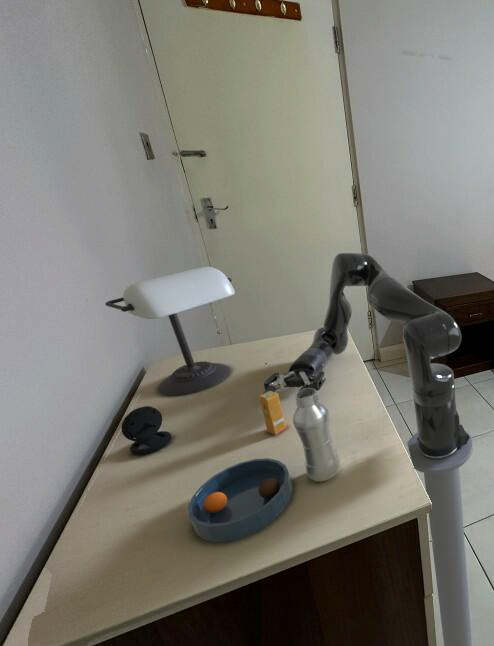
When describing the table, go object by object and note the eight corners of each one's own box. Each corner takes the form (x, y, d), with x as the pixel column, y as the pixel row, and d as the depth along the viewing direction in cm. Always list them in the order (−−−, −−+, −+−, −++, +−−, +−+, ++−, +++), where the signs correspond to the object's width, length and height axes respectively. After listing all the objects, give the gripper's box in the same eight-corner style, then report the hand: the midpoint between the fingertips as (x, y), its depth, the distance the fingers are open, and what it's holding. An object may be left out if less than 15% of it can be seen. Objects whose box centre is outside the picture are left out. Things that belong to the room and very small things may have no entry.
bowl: (295, 464, 86) (291, 450, 84) (288, 524, 72) (283, 508, 70) (208, 486, 81) (202, 471, 79) (182, 555, 67) (174, 539, 65)
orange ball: (231, 499, 77) (226, 485, 75) (227, 514, 74) (221, 499, 72) (209, 505, 76) (203, 491, 74) (204, 520, 72) (198, 505, 71)
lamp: (177, 416, 103) (127, 293, 90) (128, 394, 113) (76, 280, 99) (269, 369, 125) (240, 264, 111) (221, 354, 135) (189, 256, 121)
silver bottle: (348, 465, 85) (331, 386, 77) (327, 489, 79) (306, 406, 72) (323, 459, 87) (304, 381, 79) (301, 482, 81) (278, 400, 73)
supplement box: (288, 427, 98) (279, 393, 94) (275, 435, 95) (265, 400, 91) (279, 423, 99) (270, 389, 95) (266, 431, 96) (256, 396, 93)
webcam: (157, 432, 97) (142, 397, 93) (180, 436, 95) (166, 401, 91) (122, 453, 90) (104, 417, 86) (146, 459, 88) (129, 422, 84)
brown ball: (282, 486, 80) (278, 472, 78) (280, 499, 77) (276, 485, 75) (262, 491, 78) (258, 477, 77) (259, 505, 75) (254, 490, 74)
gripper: (281, 354, 113) (250, 385, 98) (331, 353, 113) (307, 383, 98) (287, 377, 116) (257, 410, 101) (336, 375, 116) (313, 408, 101)
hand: (282, 397), depth 100 cm, fingers open, 8 cm apart
